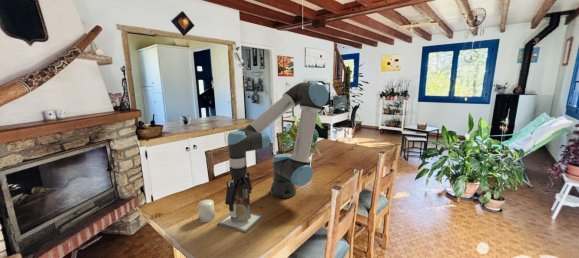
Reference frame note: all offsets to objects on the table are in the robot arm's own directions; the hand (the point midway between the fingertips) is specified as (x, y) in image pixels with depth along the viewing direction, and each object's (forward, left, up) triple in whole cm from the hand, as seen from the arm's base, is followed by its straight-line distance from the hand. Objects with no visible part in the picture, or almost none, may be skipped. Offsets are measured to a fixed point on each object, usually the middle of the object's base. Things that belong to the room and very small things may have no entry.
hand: (240, 211), depth 115 cm
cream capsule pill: (+5, -16, -5) cm, 18 cm away
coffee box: (0, 0, -3) cm, 3 cm away
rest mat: (0, 0, -5) cm, 5 cm away
